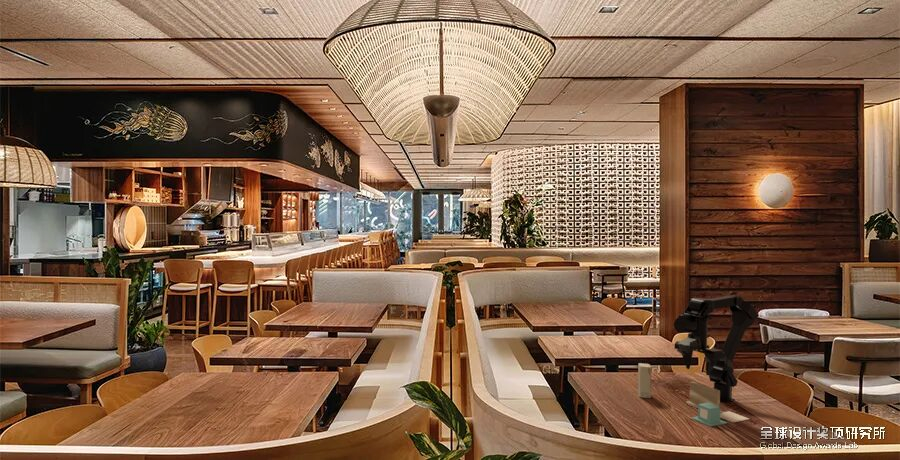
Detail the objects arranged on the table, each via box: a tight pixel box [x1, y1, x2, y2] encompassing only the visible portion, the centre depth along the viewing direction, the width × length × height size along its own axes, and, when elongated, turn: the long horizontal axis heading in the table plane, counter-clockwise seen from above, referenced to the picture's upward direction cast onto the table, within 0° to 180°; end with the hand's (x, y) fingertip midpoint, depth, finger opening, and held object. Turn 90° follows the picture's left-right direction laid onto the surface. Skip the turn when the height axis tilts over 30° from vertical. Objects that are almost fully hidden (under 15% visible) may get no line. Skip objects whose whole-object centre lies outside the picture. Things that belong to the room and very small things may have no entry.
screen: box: [685, 381, 724, 413], centre depth 205 cm, size 4×13×8 cm, turn 24°
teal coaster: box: [691, 415, 728, 427], centre depth 193 cm, size 8×8×1 cm
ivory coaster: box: [720, 410, 750, 423], centre depth 197 cm, size 8×8×1 cm
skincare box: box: [637, 362, 652, 399], centre depth 220 cm, size 6×4×12 cm
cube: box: [697, 403, 722, 423], centre depth 193 cm, size 5×5×5 cm
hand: (697, 371), depth 212 cm, fingers open, 9 cm apart
